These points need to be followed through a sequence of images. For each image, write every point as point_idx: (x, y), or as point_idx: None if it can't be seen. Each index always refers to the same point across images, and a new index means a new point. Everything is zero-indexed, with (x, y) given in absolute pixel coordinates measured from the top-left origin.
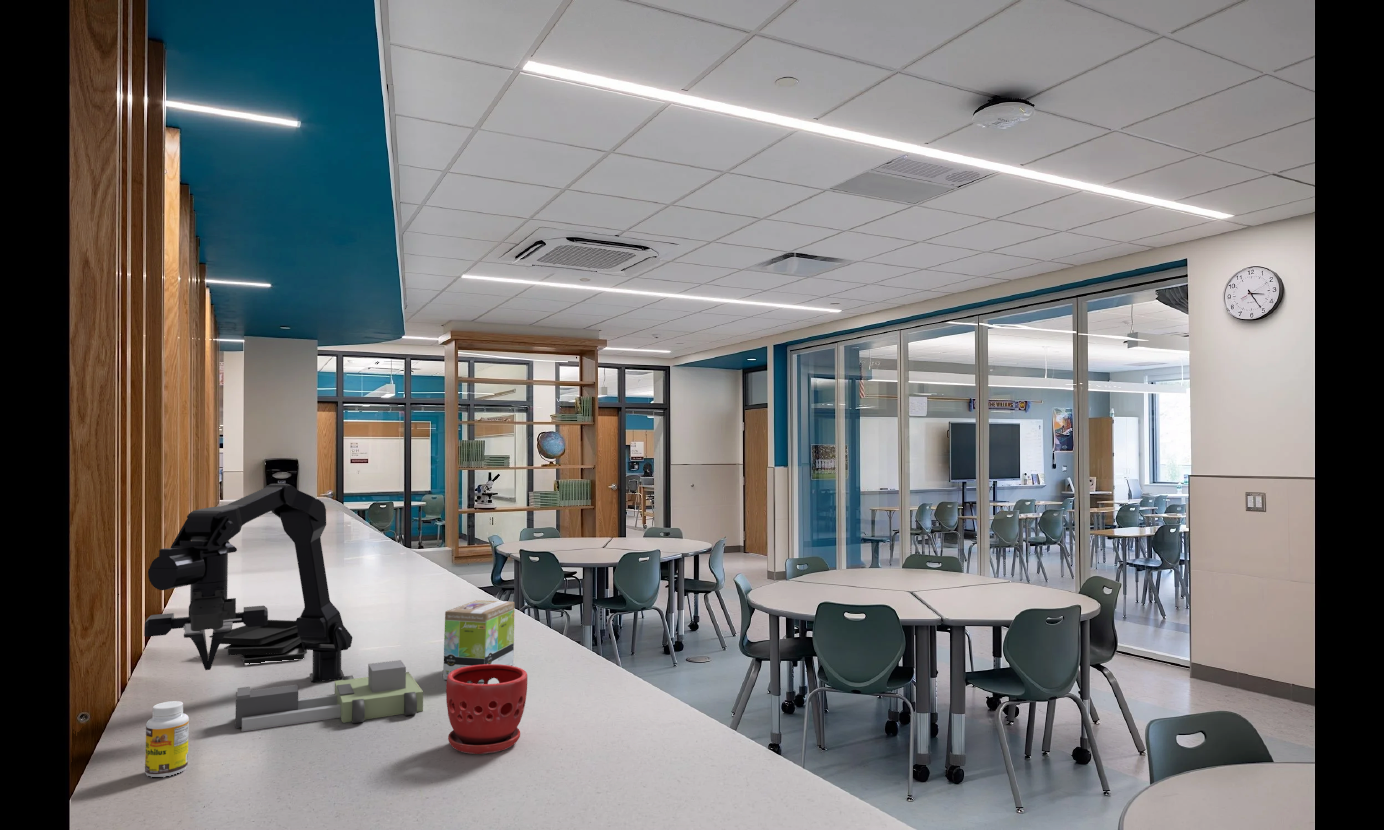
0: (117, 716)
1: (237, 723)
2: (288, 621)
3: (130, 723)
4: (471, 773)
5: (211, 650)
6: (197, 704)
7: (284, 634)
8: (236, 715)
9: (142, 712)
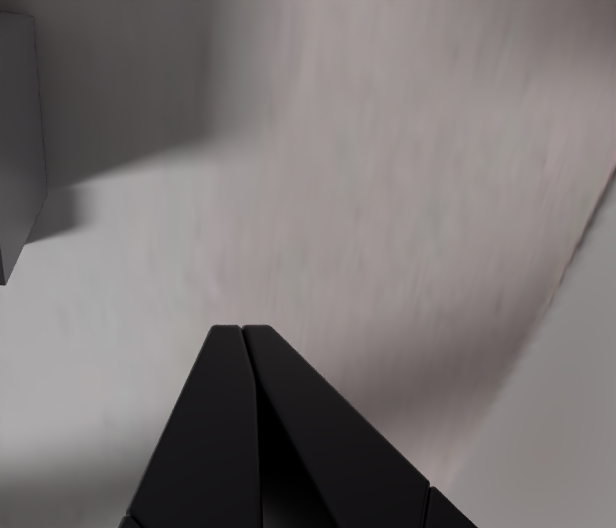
0: (463, 451)
1: (12, 19)
2: None
3: (453, 369)
4: None
5: (231, 524)
6: None
7: None
8: (5, 25)
9: None
